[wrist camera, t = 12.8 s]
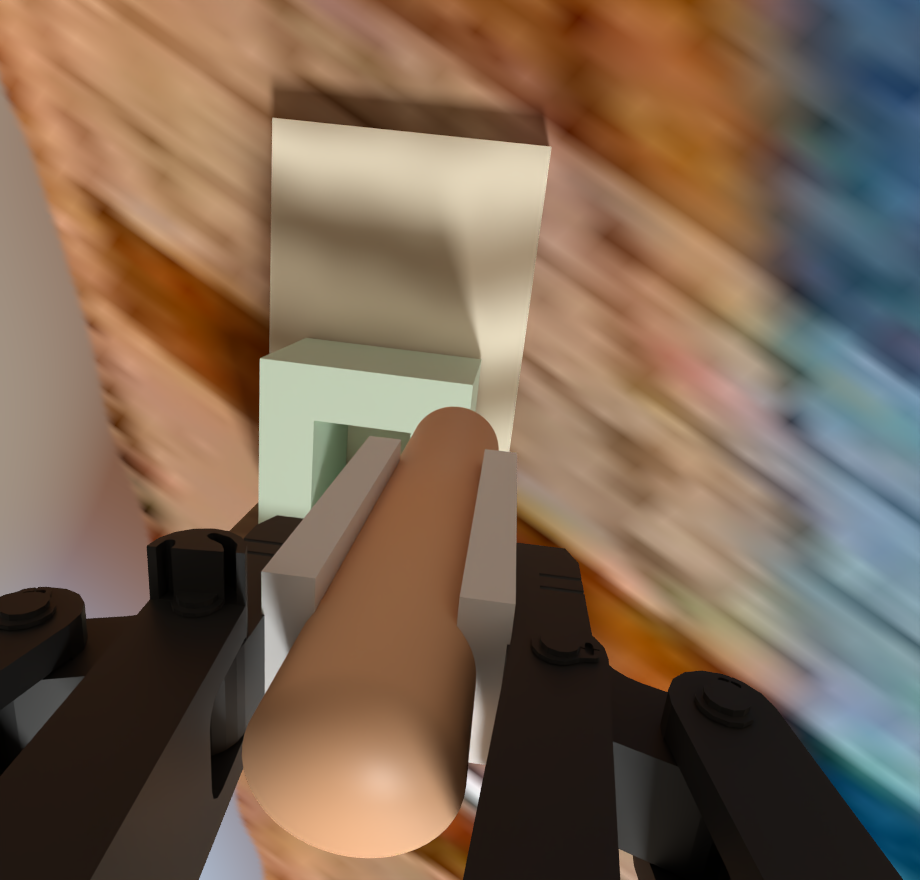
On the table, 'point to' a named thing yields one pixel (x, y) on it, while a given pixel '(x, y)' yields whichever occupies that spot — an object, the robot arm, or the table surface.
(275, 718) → the dowel
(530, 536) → the table surface
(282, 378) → the block
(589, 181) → the table surface
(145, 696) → the robot arm
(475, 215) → the beige l-shaped bracket
